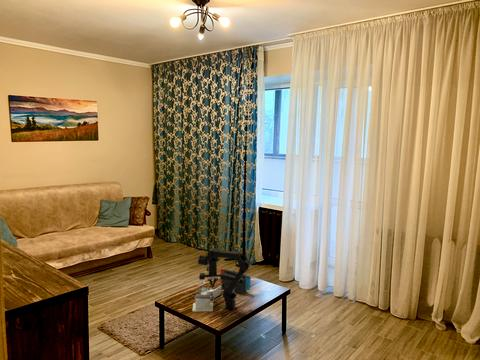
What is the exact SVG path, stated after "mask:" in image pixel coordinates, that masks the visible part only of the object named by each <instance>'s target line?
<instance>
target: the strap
mask: <svg viewBox="0 0 480 360" xmlns="http://www.w3.org/2000/svg"><path fill="white" fill-rule="evenodd" d="M195 298H210V294H209V295H198V294H195V295H194V299H195ZM210 299H211V298H210Z"/></svg>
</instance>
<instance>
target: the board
mask: <svg viewBox="0 0 480 360" xmlns="http://www.w3.org/2000/svg"><path fill="white" fill-rule="evenodd" d="M192 304H193V305H192V312H194V313H195V312H196V313H198V312H200V313H201V312H213V311H214V302H210V309H196V302H193V303H192Z"/></svg>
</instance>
